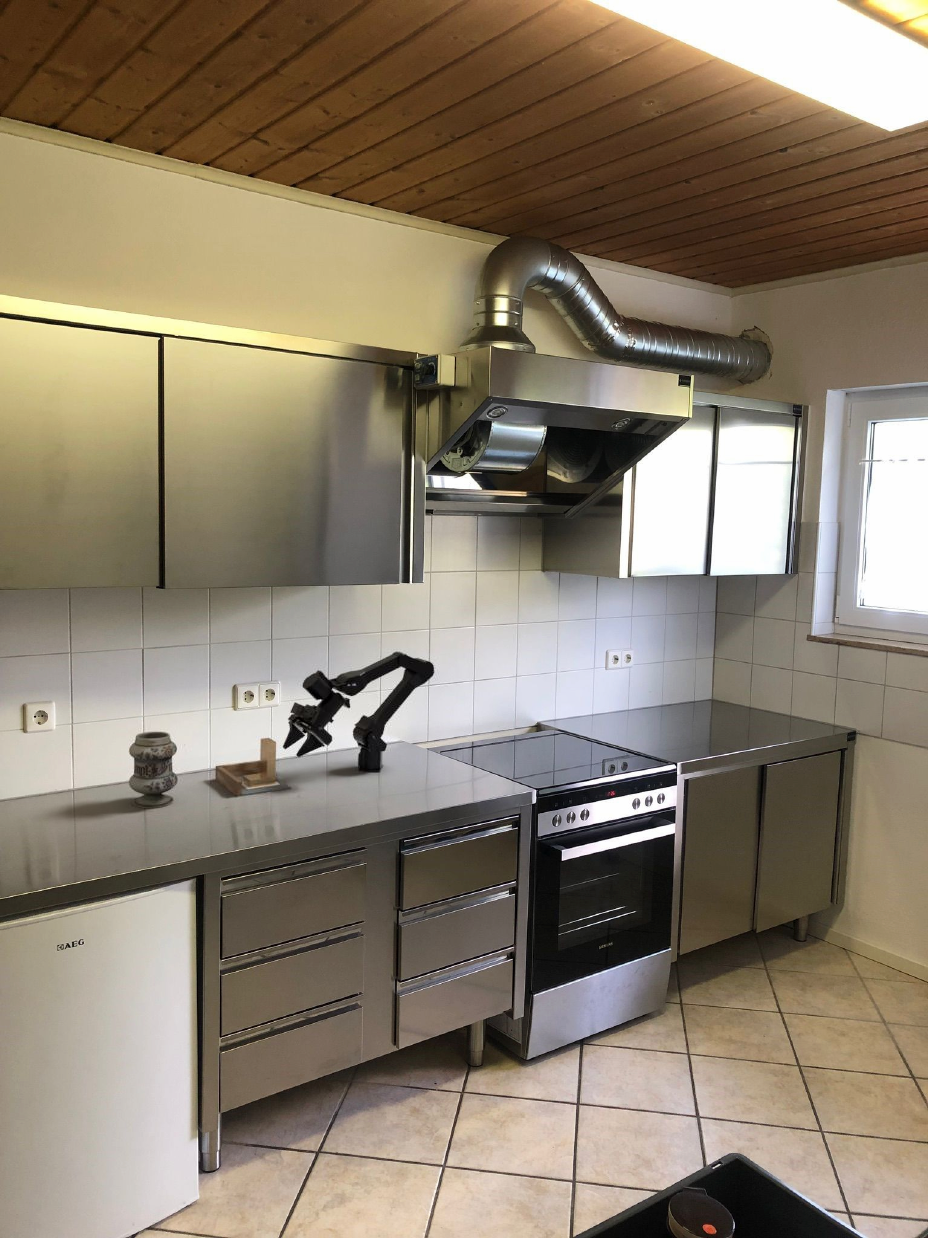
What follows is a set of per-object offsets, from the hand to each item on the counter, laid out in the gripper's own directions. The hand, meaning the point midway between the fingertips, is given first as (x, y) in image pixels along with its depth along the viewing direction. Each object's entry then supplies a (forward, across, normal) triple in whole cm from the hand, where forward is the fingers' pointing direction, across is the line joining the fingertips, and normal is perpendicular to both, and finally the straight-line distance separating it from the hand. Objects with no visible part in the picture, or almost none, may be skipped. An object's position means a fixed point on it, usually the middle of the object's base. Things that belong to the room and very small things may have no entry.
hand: (290, 752), depth 272 cm
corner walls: (+13, -1, -2) cm, 13 cm away
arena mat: (+13, -1, -1) cm, 13 cm away
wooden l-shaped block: (+12, 0, -1) cm, 12 cm away
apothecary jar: (+33, +2, -22) cm, 40 cm away
